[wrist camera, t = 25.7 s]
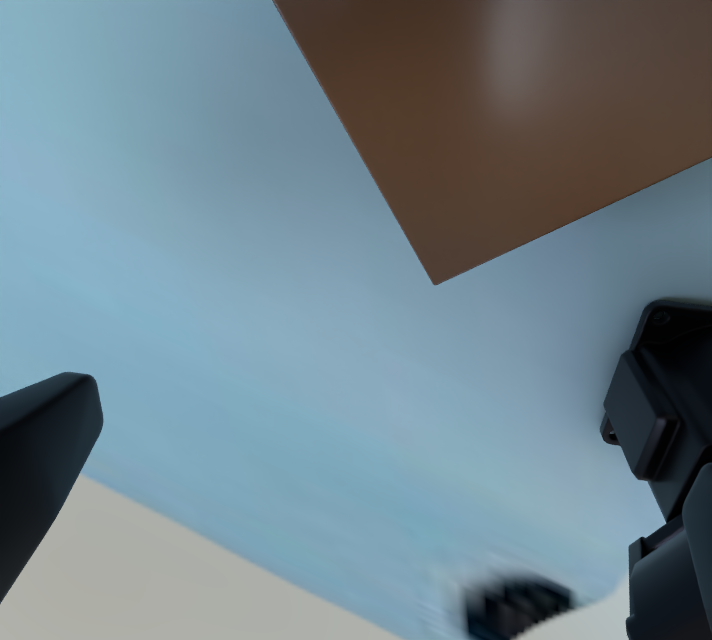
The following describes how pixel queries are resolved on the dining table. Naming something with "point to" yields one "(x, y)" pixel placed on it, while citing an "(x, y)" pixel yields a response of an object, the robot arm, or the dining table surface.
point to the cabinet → (510, 108)
